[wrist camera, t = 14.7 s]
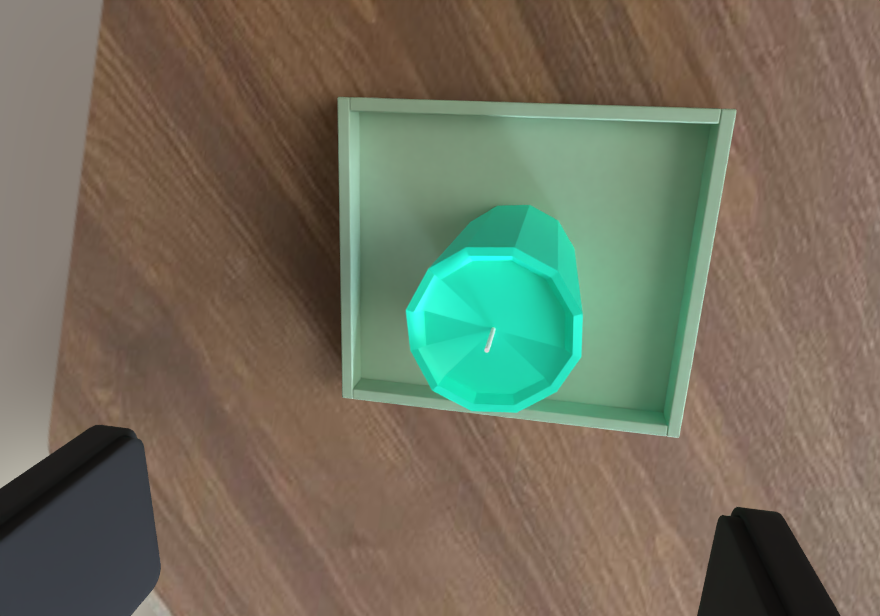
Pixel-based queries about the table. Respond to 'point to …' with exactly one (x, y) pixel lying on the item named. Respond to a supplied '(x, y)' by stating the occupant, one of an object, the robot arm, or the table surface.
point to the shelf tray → (556, 194)
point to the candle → (499, 312)
